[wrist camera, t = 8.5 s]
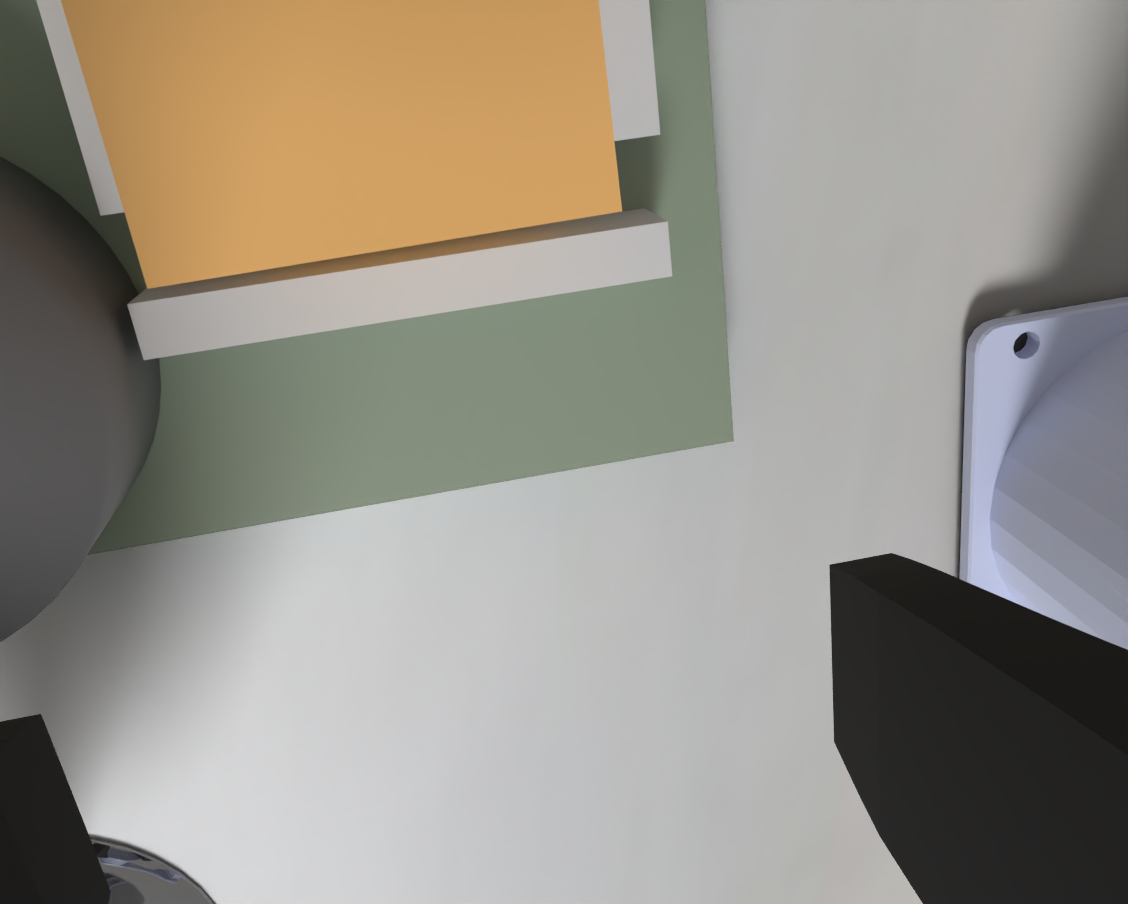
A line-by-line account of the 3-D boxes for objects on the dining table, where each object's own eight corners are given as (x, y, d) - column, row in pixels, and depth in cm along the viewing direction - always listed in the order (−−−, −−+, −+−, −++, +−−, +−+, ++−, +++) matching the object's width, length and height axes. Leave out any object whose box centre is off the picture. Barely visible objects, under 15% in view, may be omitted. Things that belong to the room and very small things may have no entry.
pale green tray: (644, -458, 14) (748, -687, 10) (709, 413, 19) (797, 511, 14) (-608, -347, 12) (-1130, -565, 8) (-182, 567, 17) (-369, 726, 13)
